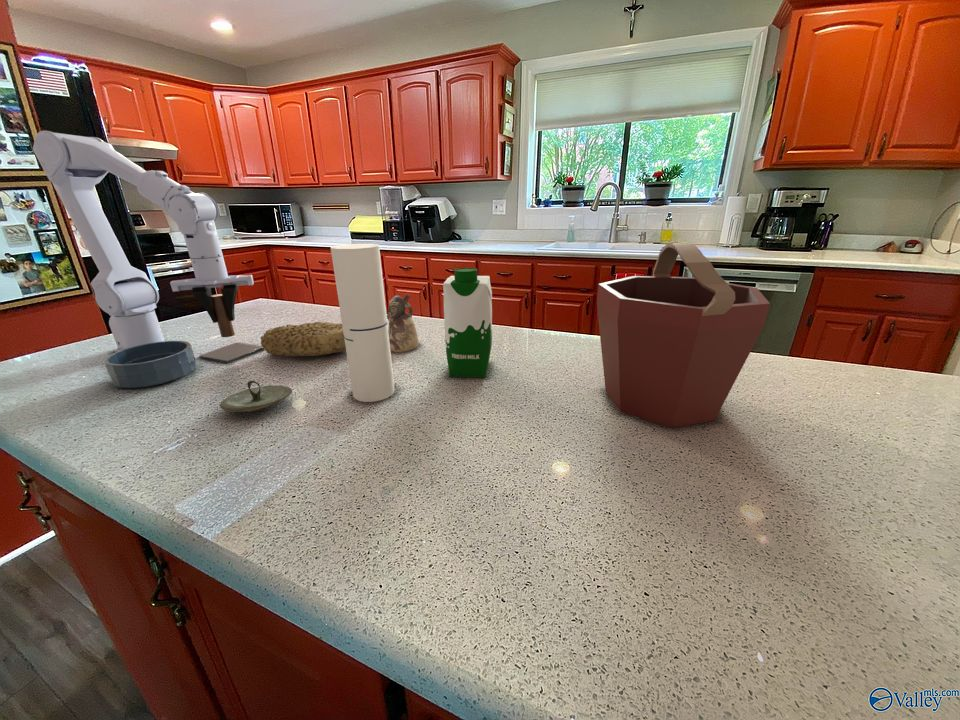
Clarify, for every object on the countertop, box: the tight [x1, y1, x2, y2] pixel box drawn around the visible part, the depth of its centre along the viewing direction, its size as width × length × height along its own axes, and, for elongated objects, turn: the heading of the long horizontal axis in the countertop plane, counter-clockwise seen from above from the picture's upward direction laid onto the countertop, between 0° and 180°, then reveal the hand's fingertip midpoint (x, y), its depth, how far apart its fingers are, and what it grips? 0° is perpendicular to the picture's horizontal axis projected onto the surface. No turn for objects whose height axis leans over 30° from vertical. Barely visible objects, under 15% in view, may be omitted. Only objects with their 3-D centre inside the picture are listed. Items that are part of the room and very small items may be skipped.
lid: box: [219, 380, 293, 413], centre depth 65 cm, size 11×10×5 cm
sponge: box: [260, 321, 346, 357], centre depth 87 cm, size 13×8×20 cm
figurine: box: [386, 293, 419, 353], centre depth 89 cm, size 7×7×12 cm
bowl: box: [103, 340, 198, 388], centre depth 77 cm, size 13×13×5 cm
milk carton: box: [442, 267, 493, 378], centre depth 75 cm, size 9×9×20 cm
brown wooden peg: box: [210, 293, 236, 338], centre depth 86 cm, size 3×3×9 cm
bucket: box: [596, 242, 771, 429], centre depth 61 cm, size 24×22×25 cm
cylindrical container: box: [330, 243, 395, 403], centre depth 65 cm, size 7×7×25 cm
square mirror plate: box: [199, 342, 264, 364], centre depth 89 cm, size 9×9×1 cm
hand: (224, 320), depth 86 cm, fingers closed on brown wooden peg, 2 cm apart
